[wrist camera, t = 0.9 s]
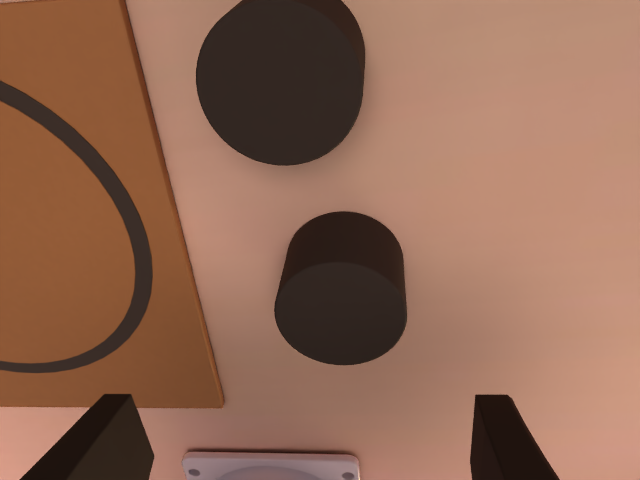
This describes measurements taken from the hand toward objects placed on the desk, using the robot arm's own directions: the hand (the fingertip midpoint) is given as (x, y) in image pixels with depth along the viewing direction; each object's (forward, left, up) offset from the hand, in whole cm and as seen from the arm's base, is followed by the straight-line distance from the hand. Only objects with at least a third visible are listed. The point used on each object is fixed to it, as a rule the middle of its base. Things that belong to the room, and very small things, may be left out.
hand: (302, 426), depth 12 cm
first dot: (-1, 0, -8) cm, 8 cm away
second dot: (+6, +1, -8) cm, 10 cm away
